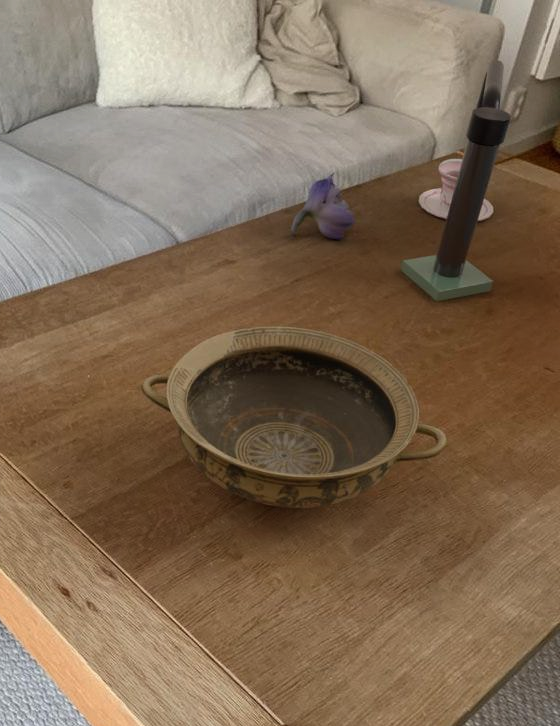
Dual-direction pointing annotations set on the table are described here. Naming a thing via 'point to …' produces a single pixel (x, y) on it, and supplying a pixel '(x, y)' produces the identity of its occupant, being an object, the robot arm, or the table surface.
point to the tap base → (458, 233)
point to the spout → (489, 110)
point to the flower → (326, 210)
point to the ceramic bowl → (291, 415)
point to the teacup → (448, 192)
